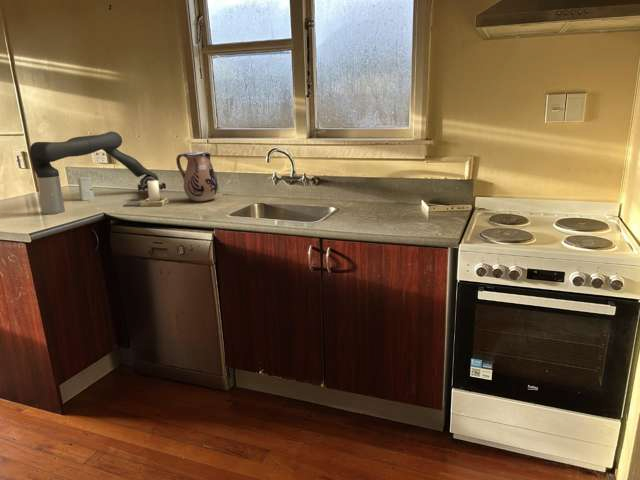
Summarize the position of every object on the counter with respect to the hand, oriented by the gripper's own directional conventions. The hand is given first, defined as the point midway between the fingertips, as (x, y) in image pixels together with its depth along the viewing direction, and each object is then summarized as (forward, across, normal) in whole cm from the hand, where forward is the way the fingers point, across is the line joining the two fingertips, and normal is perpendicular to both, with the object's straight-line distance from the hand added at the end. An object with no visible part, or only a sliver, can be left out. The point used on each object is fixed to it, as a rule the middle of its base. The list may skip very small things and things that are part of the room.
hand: (152, 188), depth 250 cm
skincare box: (-22, -33, +7) cm, 41 cm away
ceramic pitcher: (+8, +22, +7) cm, 25 cm away
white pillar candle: (+9, 0, +7) cm, 11 cm away
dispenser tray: (+9, 0, +7) cm, 11 cm away
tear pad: (+5, -9, +7) cm, 13 cm away
